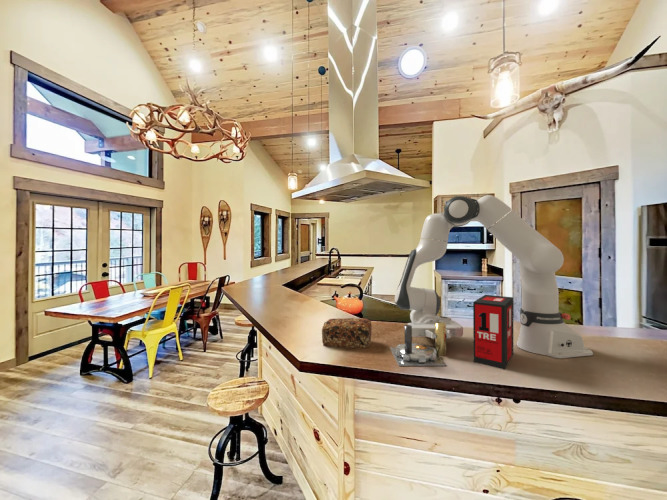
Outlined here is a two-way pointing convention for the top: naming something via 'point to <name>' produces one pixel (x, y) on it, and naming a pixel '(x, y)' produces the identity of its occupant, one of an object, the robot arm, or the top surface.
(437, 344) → the roller
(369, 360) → the top surface
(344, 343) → the bread
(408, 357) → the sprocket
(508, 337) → the cleaning product box
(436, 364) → the base plate
